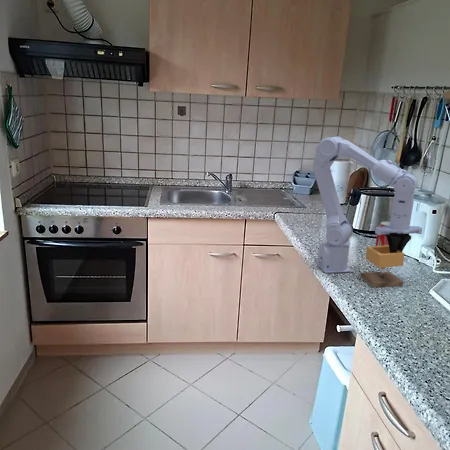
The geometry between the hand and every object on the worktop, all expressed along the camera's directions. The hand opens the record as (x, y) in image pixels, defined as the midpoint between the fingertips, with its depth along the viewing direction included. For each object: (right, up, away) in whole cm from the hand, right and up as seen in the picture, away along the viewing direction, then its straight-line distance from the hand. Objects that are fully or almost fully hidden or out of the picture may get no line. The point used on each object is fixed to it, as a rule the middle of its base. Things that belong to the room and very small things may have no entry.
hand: (394, 255), depth 130 cm
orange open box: (-3, -2, 0) cm, 4 cm away
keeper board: (-4, -8, +2) cm, 9 cm away
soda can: (+7, -1, +27) cm, 28 cm away
